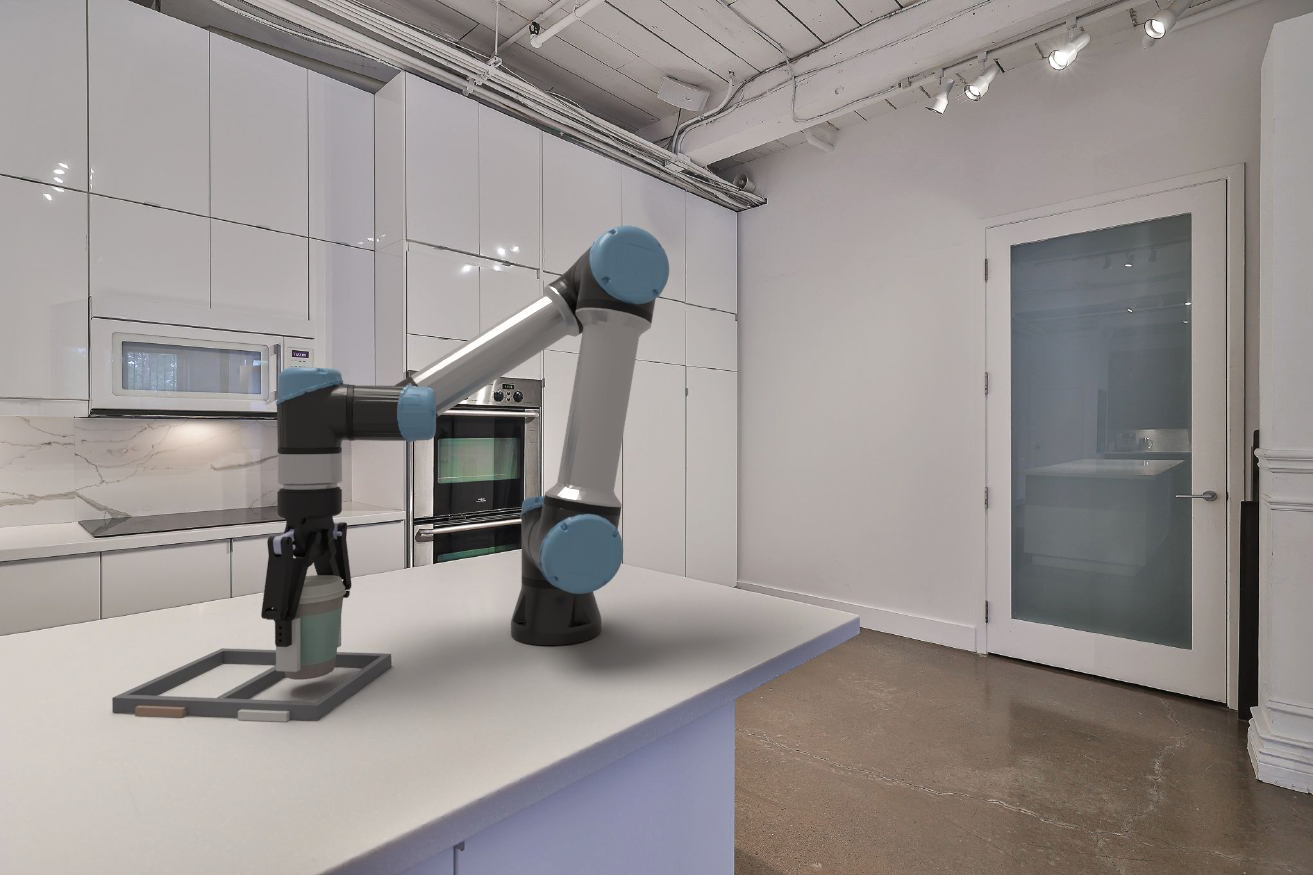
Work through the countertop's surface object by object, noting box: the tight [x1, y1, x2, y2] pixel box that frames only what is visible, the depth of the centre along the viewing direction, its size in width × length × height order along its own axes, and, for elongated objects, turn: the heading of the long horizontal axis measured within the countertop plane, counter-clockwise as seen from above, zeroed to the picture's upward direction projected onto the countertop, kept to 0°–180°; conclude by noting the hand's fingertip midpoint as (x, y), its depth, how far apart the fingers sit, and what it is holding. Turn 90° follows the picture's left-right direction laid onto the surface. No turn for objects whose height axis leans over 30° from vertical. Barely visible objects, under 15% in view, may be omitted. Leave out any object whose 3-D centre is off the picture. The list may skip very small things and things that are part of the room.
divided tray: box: [111, 648, 392, 723], centre depth 88 cm, size 26×19×2 cm
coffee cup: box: [285, 574, 347, 681], centre depth 87 cm, size 9×8×12 cm
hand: (310, 657), depth 87 cm, fingers closed on coffee cup, 8 cm apart
